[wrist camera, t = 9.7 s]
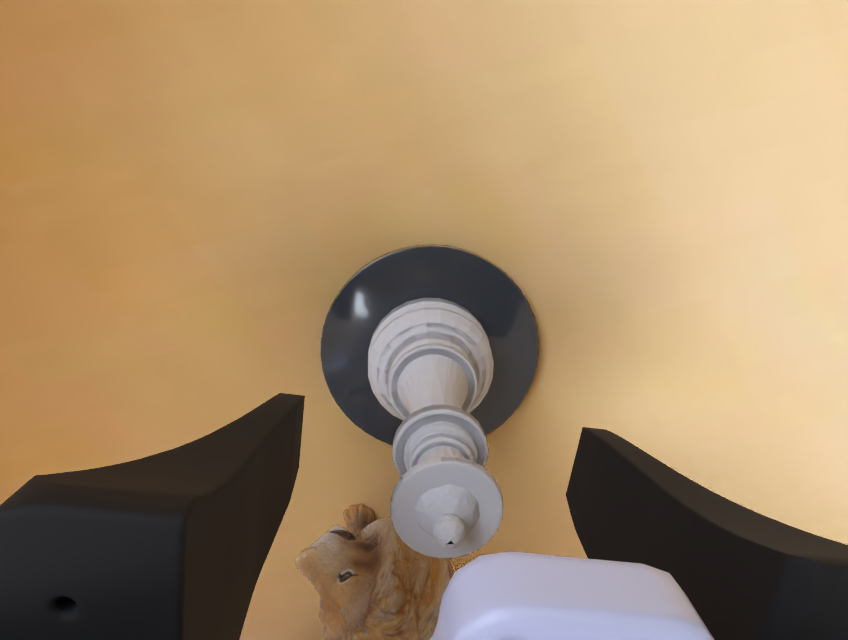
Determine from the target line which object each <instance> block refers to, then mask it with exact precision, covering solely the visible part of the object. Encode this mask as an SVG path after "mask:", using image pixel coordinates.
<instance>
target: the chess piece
mask: <svg viewBox="0 0 848 640" xmlns="http://www.w3.org/2000/svg"><path fill="white" fill-rule="evenodd" d="M493 366H494V362H493V357H492V353H491V348H490V344H489V339H488V337H487V335H486V333H485V331H484V329H483V327H482V326H481V324H480V322H479V321H478V320H477V319H476V318H475V317H474V316H473V315H472V314H471V313H470V312H469V311H468V310H467V309H465V308H463V307H462V306H460V305H458V304H457V303H455V302H451V301H448V300H444V299H441V298H420V299H416V300H412V301H408V302H406V303H404V304H402V305H400V306H398V307H396V308H394V309H393V310H392V311H391V312H390V313H388V314H387V315H386V316H385V317H384V318H383V319H382V320H381V322H380V323H379V325H378V326H377V328H376V330H375V331H374V333H373V336H372V339H371V343H370V346H369V351H368V378H369V381H370V385H371V388H372V391H373V393H374V395H375V396H376V398H377V399H378V401H379V402H380V404H381V405H382V406H383V407H384V408H385V409H386V410H387V411H389V412H390V413H391V414H392V415H393V416H395V417H397V418H399V419H401V420H403V421H402V423H401V424H400V426H399V427H398V429H397V430H396V433H395V436H394V440H393V461H394V464H395V468H396V470H397V471H398V473H399V474H400V476H401V478H400V480H399V481H398V483H397V484H396V486H395V487H394V490H393V494H392V497H391V504H390V514H391V519H392V522H393V525H394V529H395V531H396V532H397V534H398V535H399V537H400V538H401V540H402V541H403V542H404V543H406V544H407V545H408V546H409V547H410V548H411V549H413V550H415V551H417V552H419V553H421V554H423V555H427V556H431V557H436V558H455V557H459V556H464V555H467V554H469V553H471V552H474V551H476V550H478V549H479V548H481V547H482V546H483V545H485V544H486V543H487V542H488V541H489V540H490V539H491V538H492V537H493V535H494V534H495V533H496V531H497V530H498V527H499V525H500V522H501V520H502V514H503V499H502V495H501V491H500V487H499V485H498V484H497V482H496V480H495V479H494V477H493V476H492V475H491V474H490V473H489V472H488V471H487V470H486V469H485V468H484V467H485V464H486V461H487V459H488V444H487V440H486V436H485V432H484V430H483V428H482V427H481V425H480V423H479V421H478V420H476V419H475V418H474V417H473V416H472V415H471V414H470V412H471V411H472V410H474V409H475V408H476V407H477V406H478V405H479V404H480V403H481V401H482V400H483V398H484V397H485V395H486V394H487V393H488V390H489V387H490V384H491V381H492V379H493Z"/></svg>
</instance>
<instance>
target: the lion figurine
mask: <svg viewBox="0 0 848 640" xmlns="http://www.w3.org/2000/svg"><path fill="white" fill-rule="evenodd" d="M344 519H345V521H346V524H347V526H348V530H347V529H345V528H344V527H342V526H339V525H336V526H333V527H331V528H330V529H329V530H328V531H327V532H326V534H325V535H323V536H322V537H320V538H319V539H318V540H317V541H315V542H314V543H313V544H312V545H311V547H310V548H307V549H305V550H303V551H302V552H301V553H300V554H299V555H298V557H297V558H296V567H297V569H298V570H299V571H300V572H301V573H302V574H303V575H304V576H305V577H306V578H307V579H308V580H309V581H310V582H311V584H312V585H313V586H314V588H315V589H316V590H317V591H318V593H319V594H320V596H321V598H320V613H319V617H320V619H321V621H322V622H323V623H324V625H325V626H324V635H325V638H326V640H430V638H431V637H432V636H433V634H434V631H435V628H436V625H437V621H438V616H439V611H440V605H441V600H442V595H443V593H444V592H445V590H446V588H447V586H448V584H449V582H450V580H451V578H452V576H453V575H454V573H453V570H452V564H451V561H450V558H436V557H431V556H427V555H423V554H421V553H419V552H417V551H415V550H413V549H411V548H410V547H409V546H408V545H407V544H406V543H404V542H403V541H402V540H401V538H400V537H399V535H398V534H397V532H396V531H395V529H394V525H393V522H392V519H391V517H387V518H382V519H378V520H376V521H374V513H373V510H372V509H371V508H369V507H366V506H365V505H364V504H359V505H352V506H350V507H349V508H348V509H346V510H345V511H344Z"/></svg>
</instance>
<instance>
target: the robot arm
mask: <svg viewBox="0 0 848 640" xmlns="http://www.w3.org/2000/svg"><path fill="white" fill-rule="evenodd" d="M304 398H305V396H301V395H292V394H283V393H280V394H278V395H276V396H274V397H273V398H271V399H270V400H268V401H266V402H265V403H263V404H262V405H260V406H259V407H257V408H255V409H254V410H252V411H251V412H249V413H247V414H246V415H244V416H242V417H241V418H239V419H237V420H235V421H234V422H232V423H230V424H228V425H226V426H224V427H222V428H220V429H218V430H217V431H215V432H213V433H211V434H209V435H207V436H204V437H202V438H200V439H198V440H195V441H193V442H190V443H188V444H185V445H183V446H180V447H177V448H175V449H172V450H168V451H165V452H162V453H158V454H155V455H152V456H148V457H145V458H142V459H138V460H134V461H130V462H125V463H121V464H116V465H111V466H106V467H101V468H95V469H89V470H82V471H73V472H65V473H56V474H48V475H36V476H34V477H33V478H32V479H30V480H29V481H28V482H27V483H26V484H24V485H23V486H22V487H21V488H20V489H19V490H18V491H16V492H15V493H14V494H13V495H12V496H11V497H9V498H8V499H7V500H6V501H5V502H4V503H3V504H1V505H0V640H239V638H240V635H241V631H242V628H243V624H244V621H245V618H246V614H247V611H248V608H249V604H250V601H251V597H252V594H253V591H254V588H255V585H256V582H257V580H258V577H259V574H260V572H261V569H262V567H263V564H264V562H265V560H266V557H267V555H268V553H269V550H270V548H271V545H272V543H273V541H274V538H275V536H276V533H277V531H278V529H279V526H280V524H281V521H282V519H283V516H284V514H285V512H286V509H287V507H288V504H289V502H290V499H291V495H292V491H293V488H294V484H295V480H296V476H297V472H298V468H299V458H300V446H301V434H302V422H303V410H304ZM566 497H567V501H568V505H569V509H570V513H571V516H572V520H573V523H574V527H575V530H576V532H577V534H578V537H579V539H580V541H581V544H582V546H583V548H584V551H585V553H586V555H587V557H588V558H577V557H566V556H556V555H545V554H535V553H524V552H514V551H512V552H504V553H496V554H488V555H481V556H479V557H477V558H476V559H474V560H473V561H471V562H470V563H468V564H466V565H465V566H463V567H462V568H460V569H459V570H457V571H455V573H454V575H453V576H452V578H451V580H450V582H449V584H448V586H447V588H446V590H445V592H444V593H443V595H442V600H441V605H440V611H439V616H438V621H437V625H436V628H435V631H434V634H433V636H432V637H431V638H430V640H848V545H845V544H842V543H839V542H836V541H833V540H829V539H826V538H823V537H820V536H817V535H814V534H811V533H808V532H805V531H802V530H800V529H797V528H794V527H791V526H789V525H786V524H784V523H781V522H778V521H776V520H773V519H771V518H768V517H766V516H763V515H761V514H759V513H756V512H754V511H752V510H749V509H747V508H745V507H743V506H741V505H739V504H736V503H734V502H732V501H730V500H728V499H726V498H724V497H722V496H720V495H718V494H716V493H714V492H712V491H710V490H708V489H706V488H704V487H703V486H701V485H699V484H697V483H696V482H694V481H692V480H690V479H688V478H687V477H685V476H683V475H681V474H680V473H678V472H676V471H675V470H673V469H671V468H670V467H668V466H667V465H665V464H663V463H662V462H660V461H659V460H657V459H655V458H654V457H652V456H651V455H649V454H647V453H646V452H644V451H643V450H641V449H639V448H638V447H636V446H635V445H633V444H631V443H630V442H628V441H626V440H625V439H623V438H621V437H620V436H618V435H616V434H614V433H612V432H610V431H607V430H604V429H595V428H586V427H583V428H582V432H581V436H580V440H579V445H578V449H577V453H576V457H575V461H574V465H573V469H572V473H571V477H570V481H569V485H568V489H567V493H566Z"/></svg>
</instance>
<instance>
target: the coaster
mask: <svg viewBox="0 0 848 640" xmlns="http://www.w3.org/2000/svg"><path fill="white" fill-rule="evenodd" d="M420 298H441V299H444V300H448V301H451V302H455V303H457V304H458V305H460V306H462V307H463V308H465V309H467V310H468V311H469V312H470V313H471V314H472V315H473V316H474V317H475V318H476V319H477V320H478V321H479V322H480V324H481V326H482V327H483V329H484V331H485V333H486V335H487V337H488V339H489V344H490V348H491V353H492V357H493V362H494V366H493V379H492V381H491V384H490V387H489V390H488V393H487V394H486V395H485V397H484V398H483V400H482V401H481V403H480V404H479V405H478V406H477V407H476V408H475V409H474V410H472V411H471V412H470V414H471V415H472V416H473V417H474V418H475V419H476V420H478V421H479V423H480V425H481V427H482V428H483V430H484V432H485V436H486V435H487V434H489V433H491V432H492V431H494V430H495V429H496V428H498V427H499V426H500V425H502V424H503V423H504V422H505V421H506V420H507V419H508V418H509V417H510V416H511V415H512V414H513V413H514V412H515V410H516V409H517V408H518V407H519V405H520V404H521V403H522V401H523V399H524V398H525V396H526V394H527V393H528V390H529V388H530V386H531V384H532V381H533V379H534V375H535V372H536V368H537V362H538V355H539V339H538V331H537V326H536V322H535V319H534V315H533V312H532V310H531V308H530V306H529V303H528V301H527V300H526V298H525V296H524V295H523V293H522V292H521V290H520V289H519V288H518V286H517V285H516V284H515V283H514V282H513V280H512V279H511V278H510V277H509V276H508V275H507V274H506V273H505V272H504V271H502V270H501V269H500V268H499V267H498V266H496V265H495V264H493V263H492V262H490V261H489V260H487V259H485V258H483V257H481V256H479V255H477V254H475V253H473V252H470V251H467V250H464V249H461V248H457V247H452V246H447V245H433V244H430V245H416V246H410V247H405V248H401V249H398V250H395V251H392V252H389V253H386V254H384V255H382V256H380V257H378V258H376V259H374V260H373V261H371V262H370V263H368V264H367V265H365V266H364V267H362V268H361V269H360V270H359V271H358V272H357V273H355V274H354V275H353V276H352V277H351V278H350V279H349V280H348V281H347V283H346V284H345V285H344V286H343V287H342V289H341V290H340V292H339V293H338V295H337V296H336V298H335V299H334V301H333V303H332V305H331V308H330V310H329V312H328V314H327V317H326V320H325V323H324V327H323V332H322V338H321V361H322V369H323V373H324V376H325V380H326V383H327V385H328V388H329V390H330V392H331V394H332V396H333V398H334V399H335V401H336V403H337V404H338V406H339V407H340V408H341V410H342V411H343V412H344V413H345V415H346V416H347V417H348V418H349V419H350V420H351V421H352V422H353V423H354V424H355V425H357V426H358V427H359V428H361V429H362V430H363V431H365V432H366V433H368V434H369V435H371V436H373V437H375V438H376V439H378V440H381V441H383V442H385V443H388V444H390V445H393V440H394V436H395V433H396V430H397V429H398V427H399V426H400V424H401V423H402V421H403V420H401V419H399V418H397V417H395V416H393V415H392V414H391V413H390V412H389V411H387V410H386V409H385V408H384V407H383V406H382V405H381V404H380V402H379V401H378V399H377V398H376V396H375V395H374V393H373V391H372V388H371V385H370V381H369V378H368V351H369V346H370V343H371V339H372V336H373V333H374V331H375V330H376V328H377V326H378V325H379V323H380V322H381V320H382V319H383V318H384V317H385V316H386V315H387V314H388V313H390V312H391V311H392V310H393V309H394V308H396V307H398V306H400V305H402V304H404V303H406V302H408V301H412V300H416V299H420Z"/></svg>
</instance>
